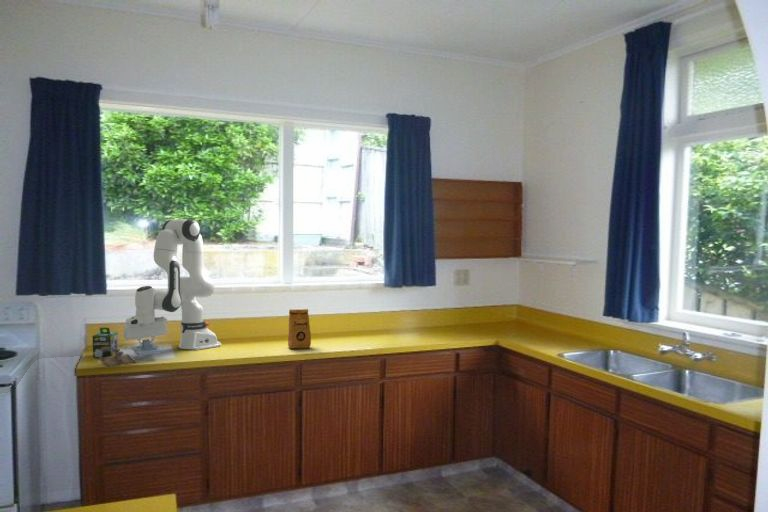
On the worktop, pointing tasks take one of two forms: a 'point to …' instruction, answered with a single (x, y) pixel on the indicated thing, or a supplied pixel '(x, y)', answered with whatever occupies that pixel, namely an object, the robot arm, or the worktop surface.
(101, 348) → the chalk box
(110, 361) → the board
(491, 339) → the worktop surface
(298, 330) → the coffee package
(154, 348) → the panel
